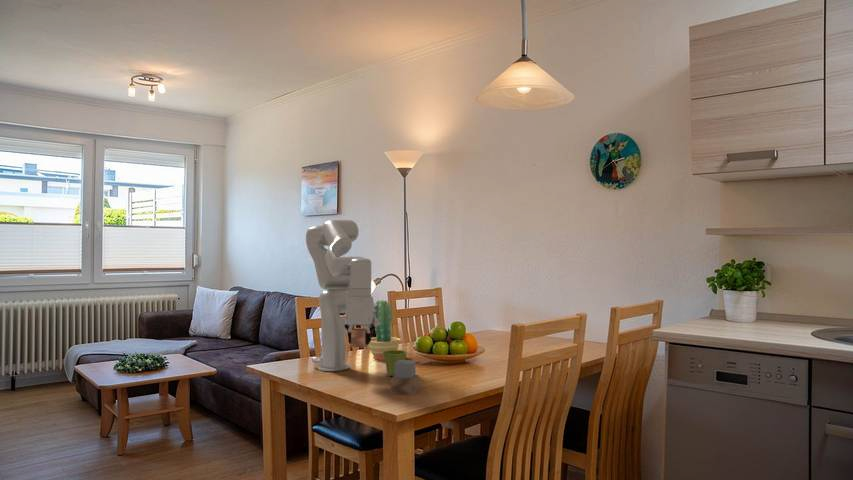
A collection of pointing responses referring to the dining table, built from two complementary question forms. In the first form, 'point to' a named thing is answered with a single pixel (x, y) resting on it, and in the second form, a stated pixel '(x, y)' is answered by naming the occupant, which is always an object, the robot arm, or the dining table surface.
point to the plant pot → (393, 359)
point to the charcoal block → (405, 369)
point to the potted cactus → (383, 331)
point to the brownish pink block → (358, 337)
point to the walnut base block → (404, 385)
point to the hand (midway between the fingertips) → (360, 342)
